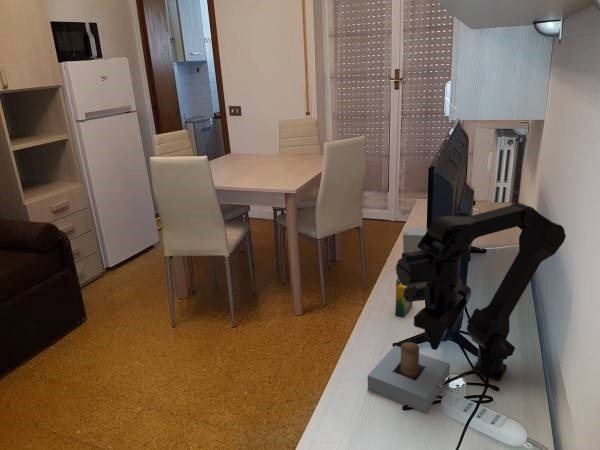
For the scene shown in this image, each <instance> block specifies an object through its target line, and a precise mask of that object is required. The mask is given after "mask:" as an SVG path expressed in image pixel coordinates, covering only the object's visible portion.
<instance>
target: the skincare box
mask: <svg viewBox="0 0 600 450" xmlns="http://www.w3.org/2000/svg"><path fill="white" fill-rule="evenodd" d="M426 229H427V228H415V227H406V228H405V229H404V231H403V233H402V247H403V249H402V250H403V252H402V253H405V252H415V251H421V249H419V248H418V247H417V246H418V244H419V243H420V241H421V240H422V238H423V236H424V235H425V233H426Z"/></svg>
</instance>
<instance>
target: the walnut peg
mask: <svg viewBox="0 0 600 450" xmlns="http://www.w3.org/2000/svg"><path fill="white" fill-rule="evenodd" d="M400 347H401V373H400V375H402V376H405V377H408V378H410V379H413V380H417V379H418V366H419V354H420V346H419V345H418V344H417V343H415V342H412V341H411V342H410V341H408V342H403V343H402V344H401V345H400Z"/></svg>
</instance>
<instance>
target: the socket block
mask: <svg viewBox="0 0 600 450" xmlns="http://www.w3.org/2000/svg"><path fill="white" fill-rule="evenodd" d="M450 366H451V363H450V362H446V361H443V360H440V359H439V358H438V359H437V358H435V357H432V356H429V355H426V354H423V353H419V366H418V379H417V380H413V379H410V378H408V377H405V376H402V375H400V373H401V346H397V345H394V346H393V347H392V348H390V350H389V351H388V352H387V354H386V355H385V356H384V357H383V358H382V359H381V360H380V361H379V362H378V363H377V365H375V367H373V369H372V370H371V371H370V372H369V373H368V374H367V390H368V391H370V392H372V393H374V394H377V395H380V396H382V397H385V398H387V399H390V400H393V401H394V402H397V403H400V404H402V405H404V406H407V405H408V406H407V407H409V406H410V407H409V408H411V409H415V410H417V411H419V412H422V413H424V414H427V412H428V411H429V409H430V407H431V406H432V405H433V403H434V402H435V400H436V398H437V397H438V395H439V394H440V392H441V391H442V389H443V388H444V386H441V387H437V386H438V385H439V384H440V383H442V382H443V381H445V380H446V378H447V377H448V376H449V377H450V368H451V367H450ZM436 387H437V388H436ZM433 401H434V402H433Z"/></svg>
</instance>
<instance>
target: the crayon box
mask: <svg viewBox="0 0 600 450" xmlns="http://www.w3.org/2000/svg"><path fill="white" fill-rule="evenodd" d="M395 285H396V286H395V306H394V307H395V312H394V313H395V314H394V316H396V317H401V318H405V316H406V315H407V314H408V312H409V311H410V310H411V309H412V308H413V302H408V301H406V299H405V298H404V297H403V295H404V292H403V291H404V290H405V288H406V287H407V286H404V285H402V284H401V282H400V281H399V279H398V278H397V279H396V280H395Z"/></svg>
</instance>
